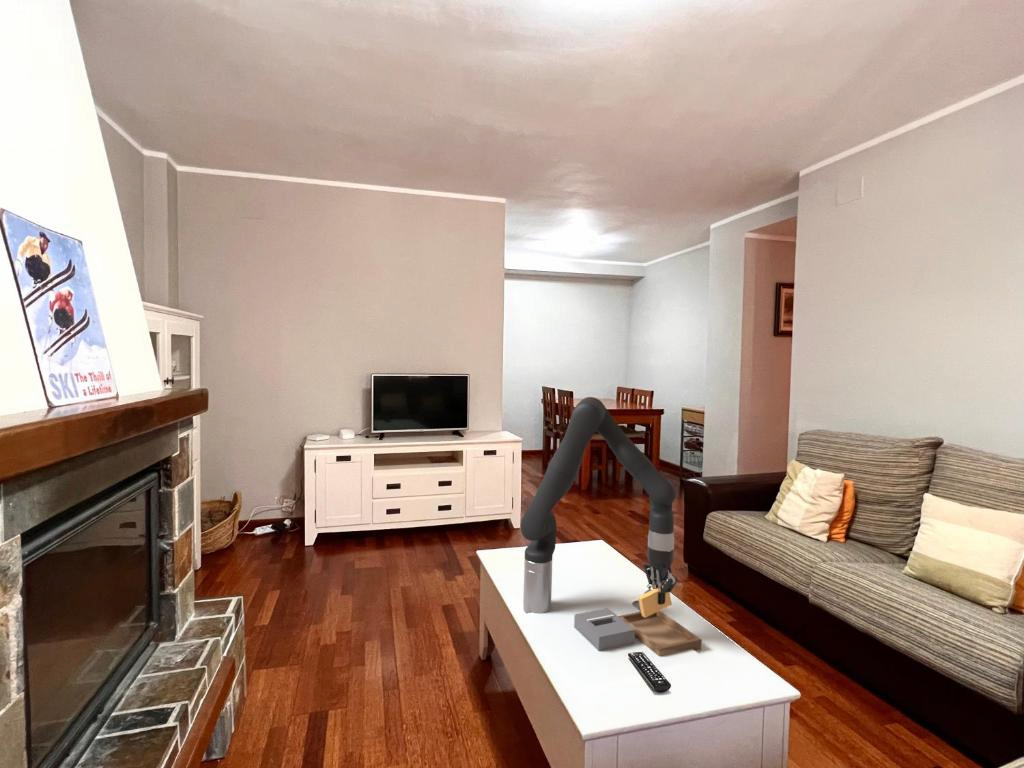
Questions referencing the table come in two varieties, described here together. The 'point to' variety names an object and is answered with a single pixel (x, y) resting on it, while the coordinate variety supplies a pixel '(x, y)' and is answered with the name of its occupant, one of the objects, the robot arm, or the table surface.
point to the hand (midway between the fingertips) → (659, 602)
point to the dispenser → (604, 629)
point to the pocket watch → (636, 603)
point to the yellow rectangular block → (652, 602)
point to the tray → (662, 633)
